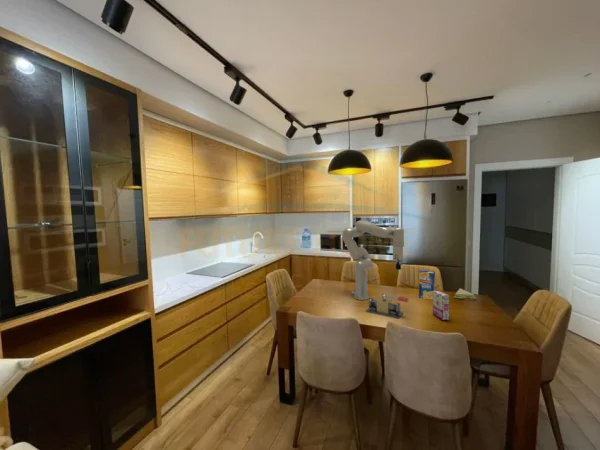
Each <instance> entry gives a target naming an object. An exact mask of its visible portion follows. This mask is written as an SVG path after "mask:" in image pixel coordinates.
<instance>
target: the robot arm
mask: <svg viewBox="0 0 600 450" xmlns="http://www.w3.org/2000/svg"><path fill="white" fill-rule="evenodd" d="M364 233H368V234H371V235H372V236H375V237H378V238H386V239H387V238H392V247H393V250H392V260H393V261H395V270H398V271H400V270H402V260H403V259H404V247H405V230H404V228H402V227H394V226H393V227H392V226H388V227H387V226H386V227H382V226H378V225H377V224H376V223H374V222H370V221H369V220H366V219H362V220H357V221H356V222H355V224H354V227H352V226H351V227H347V228H345V229H344V230H343V231H342V233H341V234H342V235H341V236H342V238H341V239H342V240H343V243H344V245H346V248H347V251H348V253H349V254H350V257H351V258H352V259H353V260H357V261H355V263H354V265H353V267H354V274H355V275H354V276H355V291H354V290H351V294H352V295H353V298H354V299H356V300H360V301H362V300H363V301H366V300H370V295H368V275H367V272H366V271H369V270H371V269H372V268H373V260H372V259H371V256H370V254H369V252H368V251H367V249H366V248H365V247H362V246H360V247H359V246H358V244H357V242H356V241H355V240H354V239H353V238H358V237H361V236H362V235H363V234H364Z"/></svg>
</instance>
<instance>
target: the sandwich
mask: <svg viewBox="0 0 600 450" xmlns="http://www.w3.org/2000/svg"><path fill="white" fill-rule="evenodd" d="M453 298H455V299H457V300H458V299H460V300H467V301H469V300H470V301H476V300H475V299H476V296H475V294H473V293H471V292H469V291H467V290H465V289H463V288H459V289H458V290H457V291H456V292H455V295H454V296H453Z"/></svg>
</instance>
